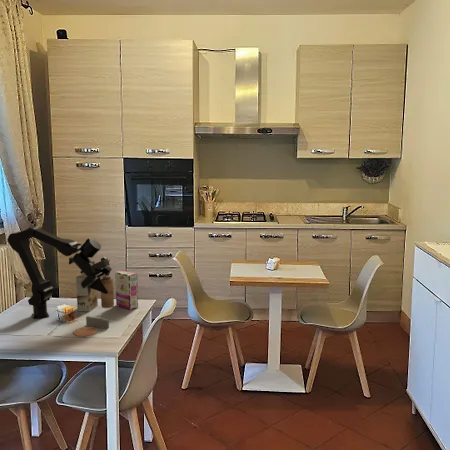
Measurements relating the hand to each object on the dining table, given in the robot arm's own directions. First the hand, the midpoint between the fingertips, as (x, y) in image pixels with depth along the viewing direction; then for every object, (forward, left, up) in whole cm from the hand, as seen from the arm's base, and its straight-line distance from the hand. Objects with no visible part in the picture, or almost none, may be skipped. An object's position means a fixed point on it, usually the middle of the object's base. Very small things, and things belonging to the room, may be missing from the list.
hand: (110, 291), depth 205 cm
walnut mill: (-1, -1, -7) cm, 7 cm away
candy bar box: (-17, +12, -14) cm, 25 cm away
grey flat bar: (+3, -7, -13) cm, 15 cm away
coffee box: (-23, -5, -14) cm, 27 cm away
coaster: (+8, -12, -13) cm, 20 cm away
